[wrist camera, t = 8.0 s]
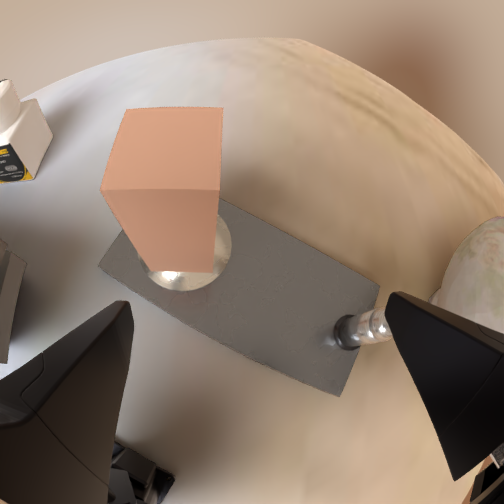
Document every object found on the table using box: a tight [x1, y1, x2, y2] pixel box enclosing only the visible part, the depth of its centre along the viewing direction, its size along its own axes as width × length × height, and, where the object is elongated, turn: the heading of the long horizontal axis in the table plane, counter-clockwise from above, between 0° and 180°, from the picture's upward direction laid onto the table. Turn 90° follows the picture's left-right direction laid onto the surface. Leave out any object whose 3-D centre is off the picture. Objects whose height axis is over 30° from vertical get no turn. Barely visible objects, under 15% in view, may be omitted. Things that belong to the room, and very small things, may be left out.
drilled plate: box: [98, 198, 380, 397], centre depth 22 cm, size 11×23×1 cm, turn 63°
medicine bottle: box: [0, 79, 53, 184], centre depth 18 cm, size 7×7×12 cm
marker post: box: [100, 107, 223, 273], centre depth 16 cm, size 5×5×12 cm
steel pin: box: [338, 307, 393, 347], centre depth 19 cm, size 2×2×6 cm
